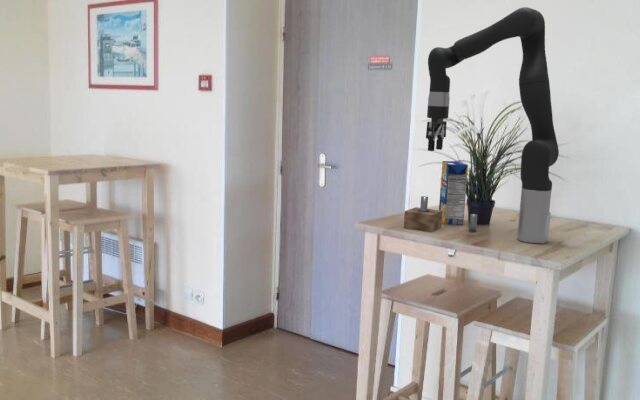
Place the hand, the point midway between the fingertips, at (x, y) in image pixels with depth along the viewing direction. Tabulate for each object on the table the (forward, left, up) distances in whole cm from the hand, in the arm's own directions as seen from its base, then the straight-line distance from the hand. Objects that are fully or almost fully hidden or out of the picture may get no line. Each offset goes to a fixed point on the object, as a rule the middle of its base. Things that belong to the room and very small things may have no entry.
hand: (435, 150), depth 224 cm
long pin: (-2, +12, -27) cm, 29 cm away
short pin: (-18, +6, -27) cm, 33 cm away
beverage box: (-6, -5, -27) cm, 28 cm away
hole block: (-2, +12, -26) cm, 29 cm away
